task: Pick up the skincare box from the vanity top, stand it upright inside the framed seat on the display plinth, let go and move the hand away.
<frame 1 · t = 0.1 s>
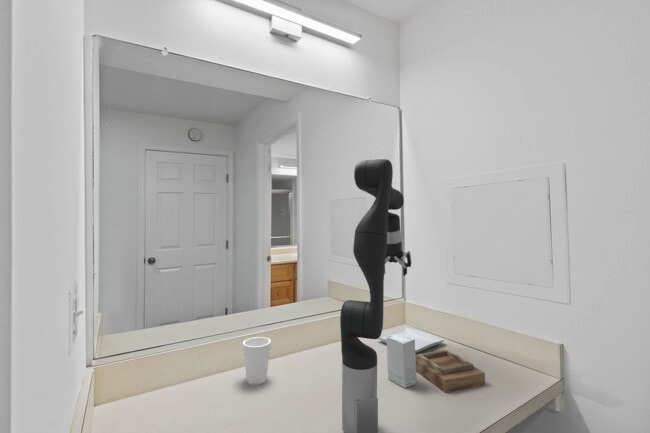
hand: (394, 274, 142), 31 cm above the table, tool tilted 20°, fingers open, 8 cm apart
salad plate: (410, 345, 148), on the table
skincare box: (401, 382, 114), on the table
display plinth: (444, 374, 119), on the table
foam cup: (256, 380, 115), on the table
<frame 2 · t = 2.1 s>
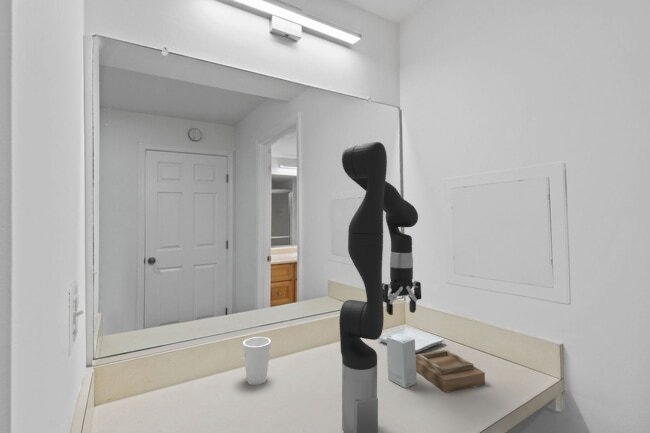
hand: (401, 313, 114), 23 cm above the table, tool pointing down, fingers open, 8 cm apart
nothing on the table moved.
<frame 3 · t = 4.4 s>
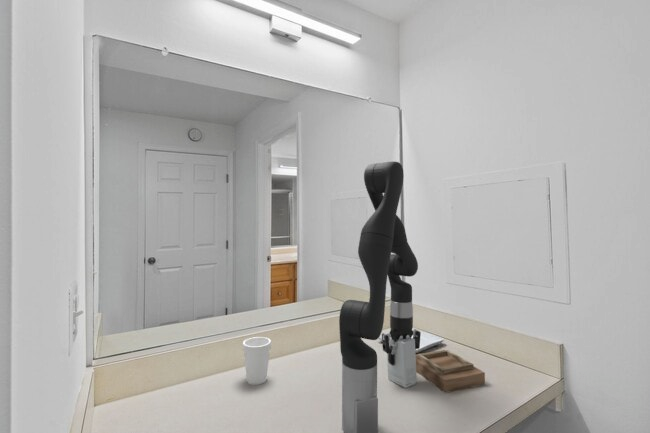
hand: (401, 362, 114), 6 cm above the table, tool pointing down, fingers closed on skincare box, 6 cm apart
skincare box: (401, 382, 114), on the table, touching gripper
everything else where it was.
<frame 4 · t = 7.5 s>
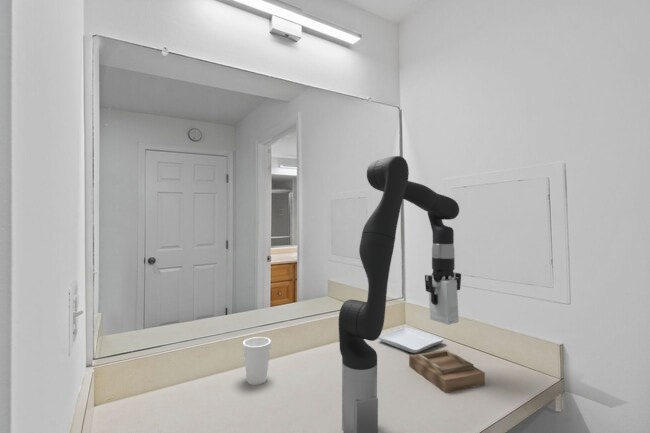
hand: (443, 303, 119), 25 cm above the table, tool pointing down, fingers closed on skincare box, 6 cm apart
skincare box: (443, 321, 119), point 19 cm above the table, touching gripper
everything else where it was.
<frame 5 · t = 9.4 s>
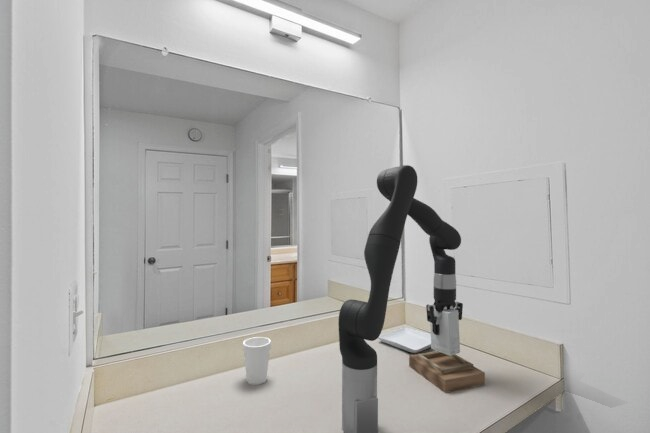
hand: (444, 333, 119), 15 cm above the table, tool pointing down, fingers closed on skincare box, 6 cm apart
skincare box: (444, 351, 119), point 8 cm above the table, touching gripper
everything else where it was.
when the fingers open (11 cm above the table, at t = 10.8 s): skincare box stays where it is, resting on display plinth.
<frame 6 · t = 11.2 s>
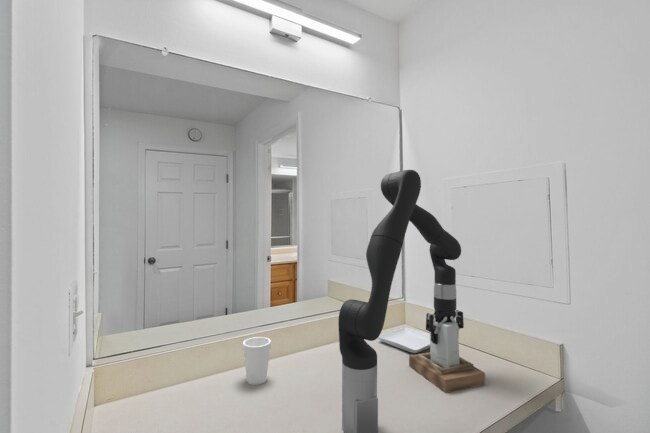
hand: (444, 341, 119), 12 cm above the table, tool pointing down, fingers open, 8 cm apart
skincare box: (444, 364, 118), point 4 cm above the table, touching display plinth
everything else where it was.
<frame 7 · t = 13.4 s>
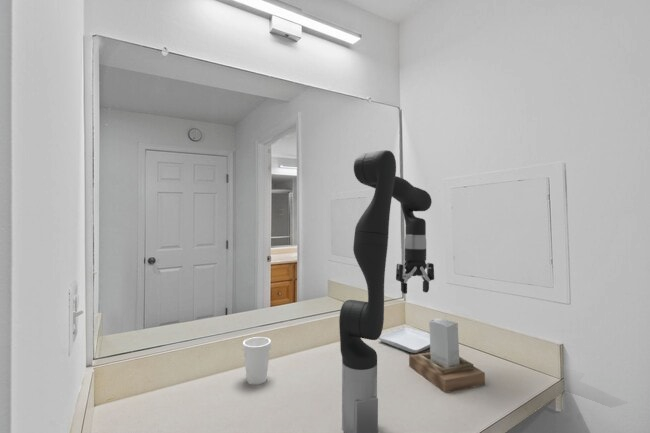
hand: (415, 292, 121), 28 cm above the table, tool pointing down, fingers open, 8 cm apart
nothing on the table moved.
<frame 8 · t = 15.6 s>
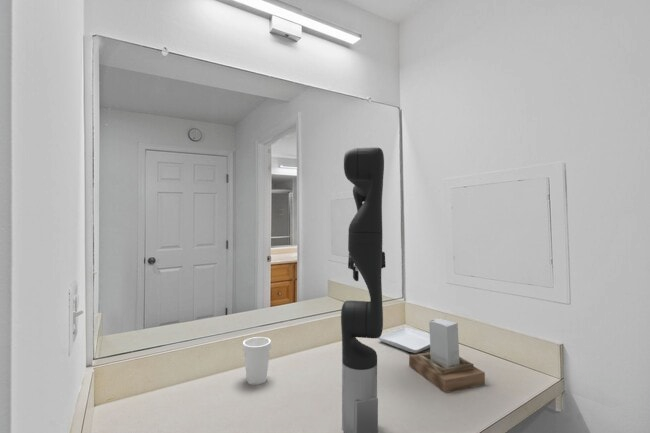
hand: (366, 280, 125), 32 cm above the table, tool pointing down, fingers open, 8 cm apart
nothing on the table moved.
at the end: skincare box 0.3 cm off-centre on the display plinth, point 3.8 cm above the display plinth's base; skincare box tilted 0°; the gripper is holding nothing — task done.
